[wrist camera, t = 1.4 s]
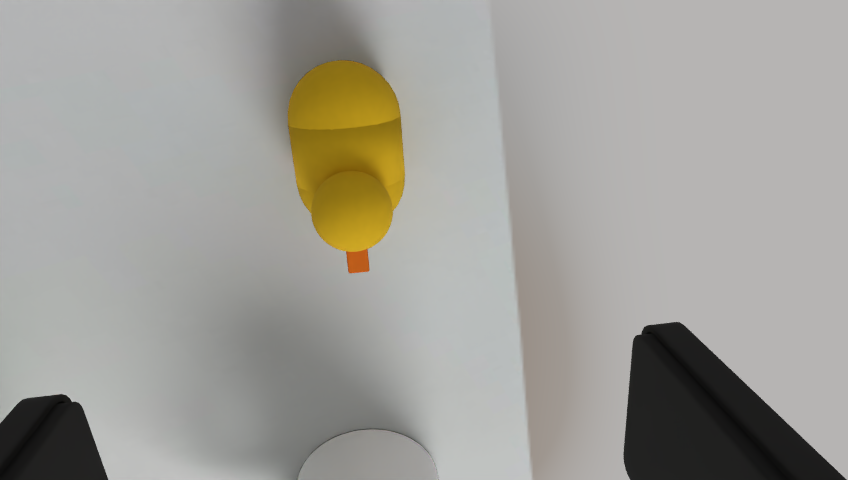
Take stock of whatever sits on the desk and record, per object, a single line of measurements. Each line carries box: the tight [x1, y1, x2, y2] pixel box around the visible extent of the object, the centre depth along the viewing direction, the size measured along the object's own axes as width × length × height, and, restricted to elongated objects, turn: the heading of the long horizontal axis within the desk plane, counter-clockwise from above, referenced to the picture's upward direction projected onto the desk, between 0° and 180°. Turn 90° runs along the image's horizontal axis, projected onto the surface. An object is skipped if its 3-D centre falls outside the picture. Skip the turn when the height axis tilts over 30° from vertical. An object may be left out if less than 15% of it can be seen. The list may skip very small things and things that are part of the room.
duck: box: [288, 60, 405, 273], centre depth 22 cm, size 8×4×7 cm, turn 3°
